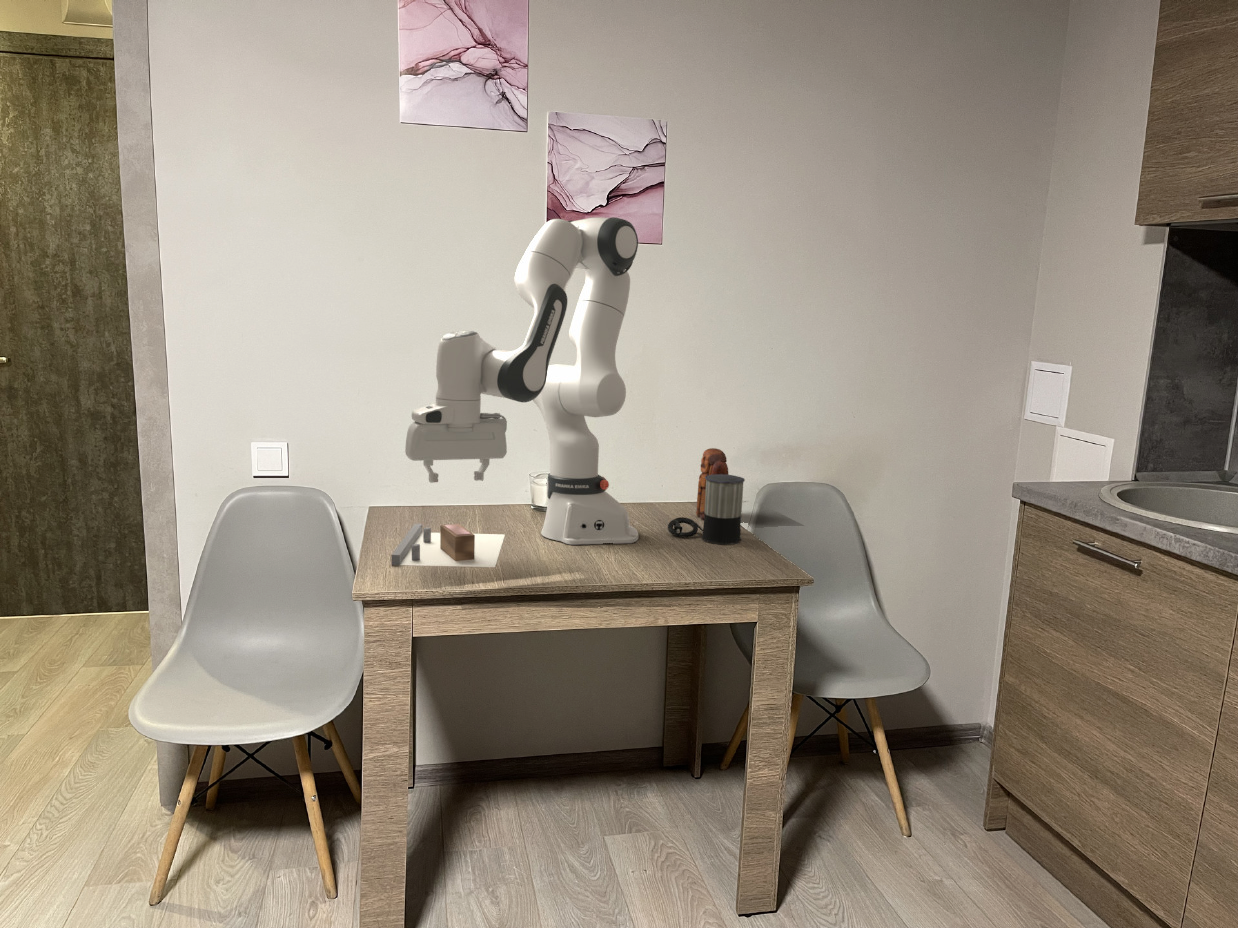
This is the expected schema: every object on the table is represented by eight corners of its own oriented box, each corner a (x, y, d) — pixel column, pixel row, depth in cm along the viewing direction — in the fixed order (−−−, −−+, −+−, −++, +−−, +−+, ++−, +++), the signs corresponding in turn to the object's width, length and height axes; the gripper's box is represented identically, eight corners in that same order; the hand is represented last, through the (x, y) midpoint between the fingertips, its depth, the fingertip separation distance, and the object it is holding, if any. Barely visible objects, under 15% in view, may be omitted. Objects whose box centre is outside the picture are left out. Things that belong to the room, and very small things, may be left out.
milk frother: (747, 544, 206) (751, 481, 203) (682, 547, 202) (686, 482, 199) (723, 529, 219) (727, 470, 217) (662, 531, 215) (665, 470, 213)
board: (504, 539, 202) (505, 521, 201) (494, 573, 176) (495, 552, 175) (414, 537, 201) (414, 519, 200) (391, 570, 175) (391, 549, 174)
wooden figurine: (691, 513, 236) (694, 445, 233) (714, 512, 238) (717, 445, 235) (706, 523, 225) (710, 452, 222) (730, 523, 226) (734, 452, 223)
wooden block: (458, 546, 190) (459, 523, 189) (474, 559, 181) (474, 534, 180) (440, 548, 188) (440, 524, 187) (455, 561, 179) (455, 535, 178)
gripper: (501, 411, 187) (499, 476, 189) (403, 411, 177) (402, 480, 179) (512, 414, 181) (510, 482, 184) (412, 414, 172) (411, 486, 174)
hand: (456, 481), depth 181 cm, fingers open, 8 cm apart
